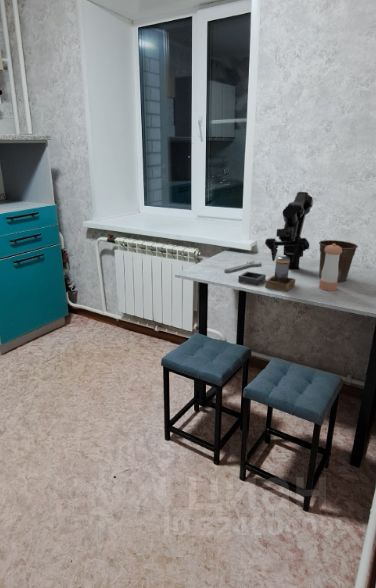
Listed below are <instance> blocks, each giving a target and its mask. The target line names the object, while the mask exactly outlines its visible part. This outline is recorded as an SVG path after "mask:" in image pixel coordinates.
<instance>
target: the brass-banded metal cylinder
mask: <svg viewBox="0 0 376 588" xmlns="http://www.w3.org/2000/svg"><path fill="white" fill-rule="evenodd" d="M289 263H290V258H289V257H286V256H285V255H282V256H281V255H280V256H276V257H275V266H274V267H275V268H274V275H275V277H274V282H280V283H285V284H287V281H288V278H289V270H290V269H289Z"/></svg>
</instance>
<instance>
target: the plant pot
mask: <svg viewBox="0 0 376 588" xmlns="http://www.w3.org/2000/svg"><path fill="white" fill-rule="evenodd" d="M332 244H336V245H337V246H339V247H341V248H342V253H341V254H340V256H339V263H338V279H337V281H338V283H339V282H340V283H343V282H346V281H347V280H348V277H349V272H350V269H351V267H352V262H353V258H354V257H355V255H356V252H357V249H358V247H359V246H358V245H357V244H356V243H352V242H349V241H343V240H335V239H334V240H333V239H332V240H331V239H330V240H329V239H327V240H324V239H323V240H320V241H319V252H320V253H319V254H320V255H319V273H318V277H319V278H321V275H322V269H323V266H324V263H325V256H326V253H325V251H324V249H325V247H326V246H328V245H332Z"/></svg>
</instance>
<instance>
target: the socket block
mask: <svg viewBox="0 0 376 588" xmlns="http://www.w3.org/2000/svg"><path fill="white" fill-rule="evenodd" d="M266 277H267V276H266V274H264V273H259V272H254V271H253V272H252V271H245V272H244V273H242V274H240V275H238V282H240V283H243V284H244V283H245V284H249V285H254V286H259V285H260V284H261V283H264V282H266Z"/></svg>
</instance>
